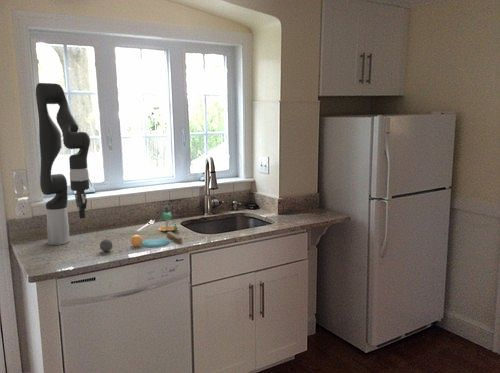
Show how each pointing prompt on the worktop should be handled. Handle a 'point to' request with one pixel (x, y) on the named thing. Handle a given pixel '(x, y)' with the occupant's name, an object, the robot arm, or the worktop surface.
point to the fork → (146, 225)
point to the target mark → (155, 243)
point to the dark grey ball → (106, 245)
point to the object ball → (136, 240)
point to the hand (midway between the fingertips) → (82, 217)
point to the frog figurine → (167, 217)
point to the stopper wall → (174, 237)
